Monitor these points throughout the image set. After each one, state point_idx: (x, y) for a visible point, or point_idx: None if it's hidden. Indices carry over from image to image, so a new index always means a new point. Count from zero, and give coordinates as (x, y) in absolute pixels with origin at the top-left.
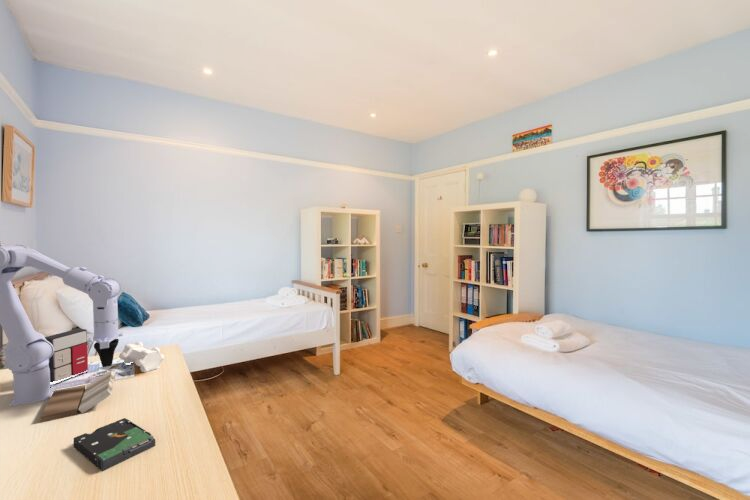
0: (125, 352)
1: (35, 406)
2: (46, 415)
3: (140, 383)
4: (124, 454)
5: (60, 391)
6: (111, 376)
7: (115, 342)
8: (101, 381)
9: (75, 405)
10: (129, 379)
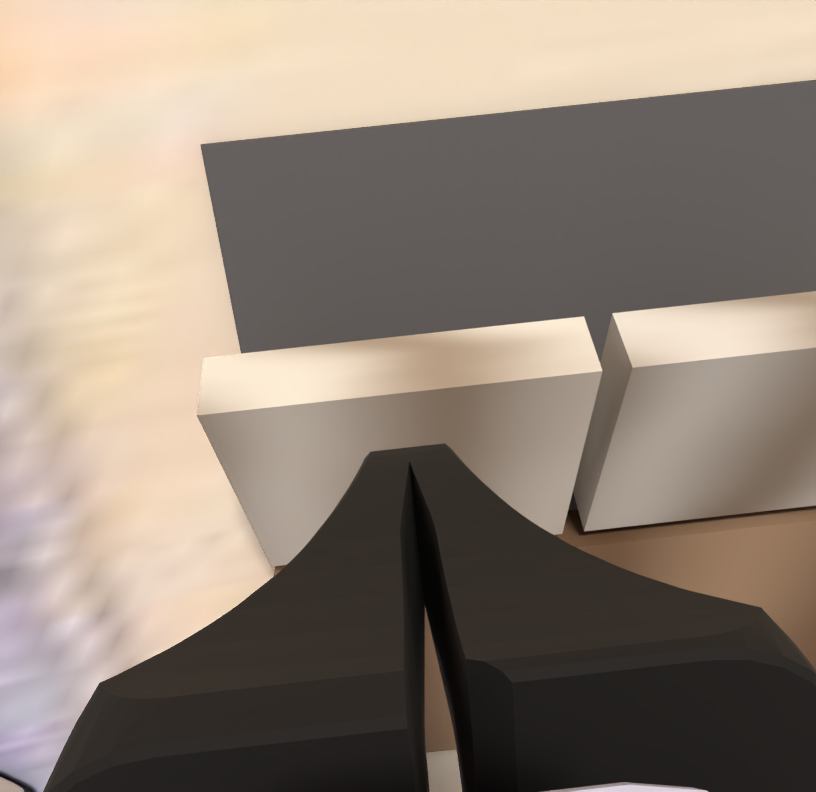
0: None
1: (438, 771)
2: None
3: (262, 20)
4: None
5: None
6: (438, 373)
7: (563, 748)
8: None
9: (776, 540)
10: (56, 182)
